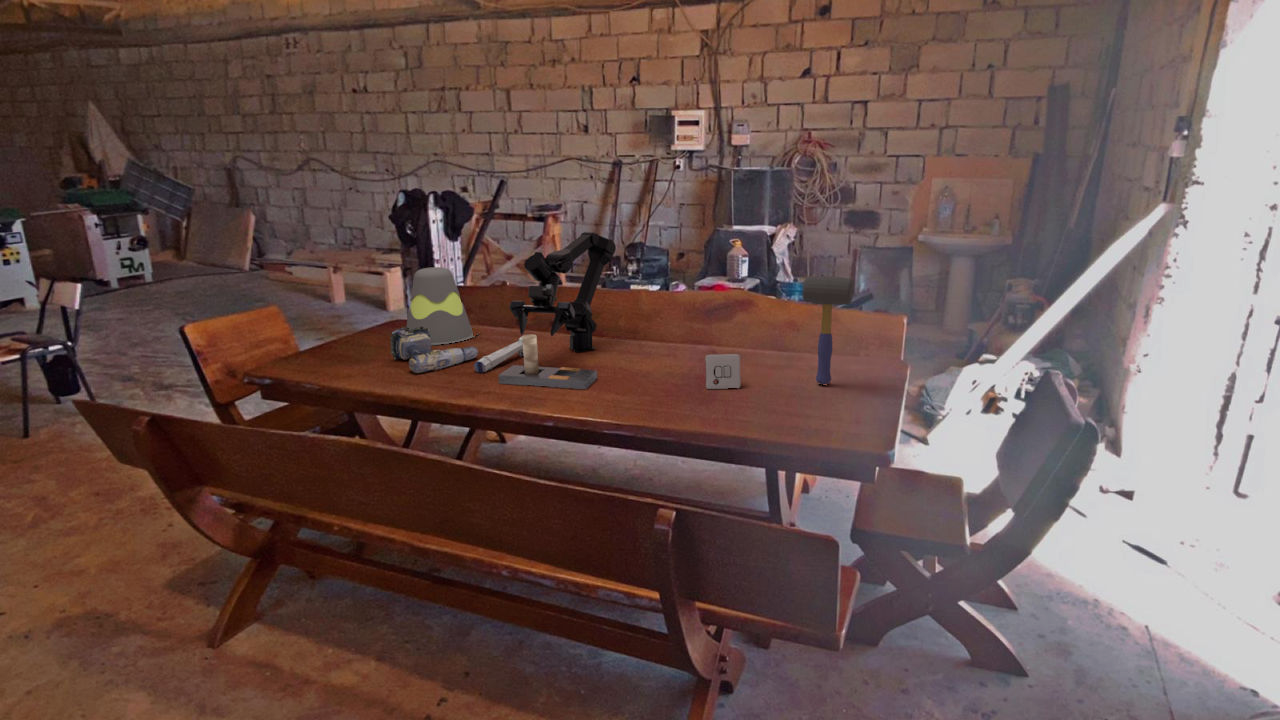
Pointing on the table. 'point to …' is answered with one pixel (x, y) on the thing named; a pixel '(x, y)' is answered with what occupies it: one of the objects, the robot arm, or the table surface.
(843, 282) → the rubber mallet
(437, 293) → the grey tapered bucket
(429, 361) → the power drill
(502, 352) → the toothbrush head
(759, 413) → the table surface
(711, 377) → the electrical switch
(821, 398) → the table surface
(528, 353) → the birch peg
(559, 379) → the grey peg hole board
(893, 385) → the table surface
